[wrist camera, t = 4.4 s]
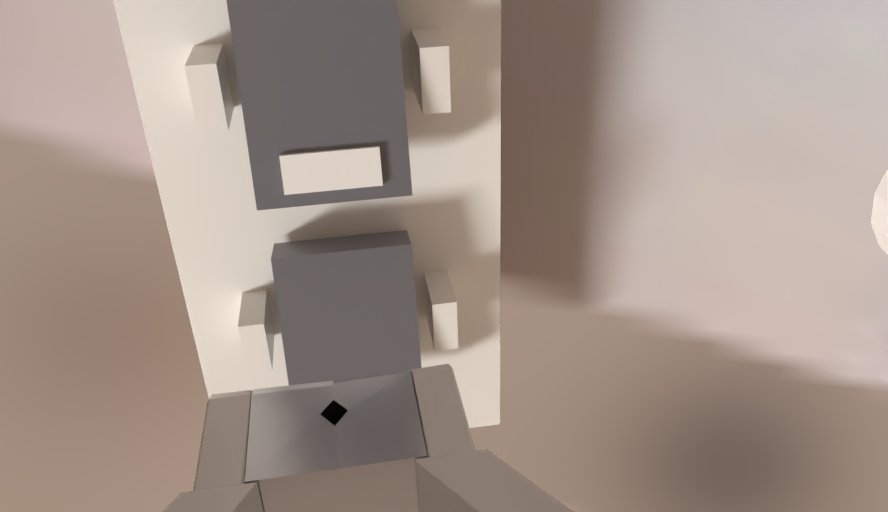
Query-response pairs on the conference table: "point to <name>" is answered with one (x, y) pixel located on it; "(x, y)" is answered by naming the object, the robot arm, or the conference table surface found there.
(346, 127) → the plate
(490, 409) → the rocker switch panel
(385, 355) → the block
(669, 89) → the conference table surface
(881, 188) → the shot glass
